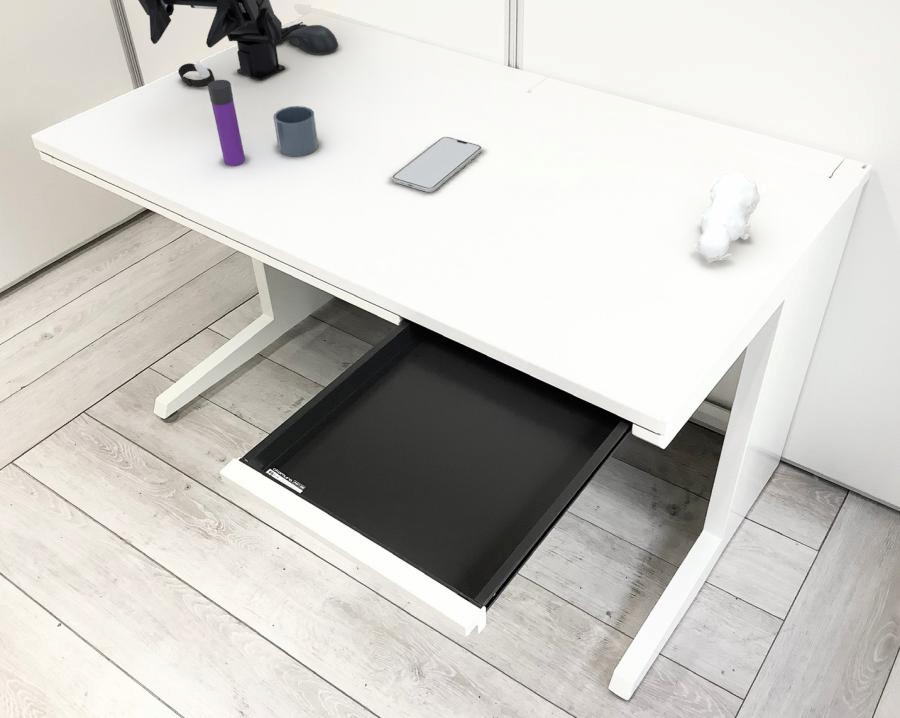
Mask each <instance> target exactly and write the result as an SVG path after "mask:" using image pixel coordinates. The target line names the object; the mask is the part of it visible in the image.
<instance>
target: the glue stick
mask: <svg viewBox="0 0 900 718" xmlns="http://www.w3.org/2000/svg"><path fill="white" fill-rule="evenodd" d="M207 91H208V96H209V99H210V102H211V107H212V111H213V116H214V121H215V125H216V130H217V134H218V140H219V144H220V149H221V153H222V157H223V163H224V164H225V165H227V166H229V167H230V166H231V167H236V166H240V165H242V164H244V163H245V162H246V157H245V152H244V147H243V141H242V137H241V131H240V127H239V126H240V125H239V121H238V117H237V112H236V111H237V110H236V106H235V101H234V94H233V89H232V84H231V82H230V81H229V80H227V79H216V80H215V81H212V82H210V83H209V84H208V86H207Z"/></svg>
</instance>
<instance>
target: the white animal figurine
mask: <svg viewBox="0 0 900 718" xmlns="http://www.w3.org/2000/svg"><path fill="white" fill-rule="evenodd" d="M709 192H710V195H709V196H710V200H711V202H710V204H709V206H708V208H707V210H706V211H705V212H704V213H703V214H702V216H701V219H700V227H701V232H702V234H701V235H700V237H699V240H698V245H697V244H694V246H695V248H696V249H697V251H698V254H699V255H701V256H702V257H703V258H704V259H706V261H707V263H709V264H712V263H713V262H715V261H724V260H725V261H726V260H727V257H729V256H731V255H733V253H734V252H733V253H732V252H731V253H728V250H729V248H730V244H731V243H732V242H733V241H736V240H739V239H741V240H743V241H745V240H748V238H749V232H750V230H751V228H752V224H751V223H748V221H749V220H750V217H751V215H752V214H753V213H754V212H755V211H756V209H757V207H758V204H759V203H760V201H761V195H760V193H759V190H758V186H757V183H756V182H755V180H754V179H753V178H751V177H749V176H747V175H745V174H744V173H741V172H732V173H725V174H723V175H721V176H720V177H719V178H718V179H717V181H716V182H715V184H714V185H713V186H712V187H711V188H710V190H709ZM726 253H727V254H726Z"/></svg>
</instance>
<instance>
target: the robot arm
mask: <svg viewBox="0 0 900 718" xmlns="http://www.w3.org/2000/svg"><path fill="white" fill-rule="evenodd" d="M137 1H138V2H139V4H140V6H141V7H142V9H143V11H144V12H145V14H146V15H147V16H148V17H149V34H150V35H149V37H150V41H151V43H152V44H153V45H156V44H157V43H158V42H159V41H160V40H161V38H162V37H163V35H164V33H165V31H166V30H167V28H168V27H169V25H170V24H171V22H172V18H171V17H170V16H172V15H173V14H174V11H175V5H176V6H189V7H190V8H191V9H203V10H215V14H214V17H213V19H212V22H211V24H210V28H209V30H208V34H207V36H206V42H205V43H206V46H207V48H210V49H211V48H213V47H214V46H215V45H217V44H218V43H219V42H221V41H222V40H223V39H224V38H225V37H227V39H228V41H229V42H236V43H237V48H238V50H237V58H238V64H239V68H238V69H236V72H237V74H240V75H243V76H245V77H249V78H251V79H254V80H257V81H263V80H265V79H267V78H269V77H271V76H274V75H276V74H278V73H280V72H282V71H284V70H286V66H285V65H283V64H280V61H279V56H278V50H277V45H276V43H275V41H280V40H281V35H282V28H283V25H282V21H281V20H280V18H278V16H277V14H275V11H274V9H273V7H272V4H271V1H270V0H137ZM280 42H281V41H280Z"/></svg>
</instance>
